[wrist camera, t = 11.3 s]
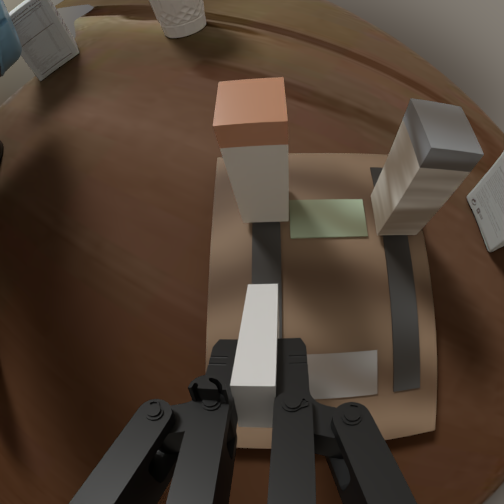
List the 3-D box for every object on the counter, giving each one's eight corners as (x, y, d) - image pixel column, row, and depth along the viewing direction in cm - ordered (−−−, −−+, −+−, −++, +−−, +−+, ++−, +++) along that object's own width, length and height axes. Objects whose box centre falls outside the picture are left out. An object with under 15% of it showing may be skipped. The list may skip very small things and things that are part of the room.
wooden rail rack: (426, 426, 17) (528, 463, 6) (210, 439, 19) (135, 508, 7) (399, 165, 24) (443, 62, 13) (220, 167, 26) (183, 56, 15)
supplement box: (76, 41, 43) (45, -15, 27) (80, 53, 40) (44, -11, 24) (39, 67, 42) (4, 15, 26) (39, 83, 39) (-2, 24, 23)
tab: (288, 221, 21) (287, 121, 12) (243, 222, 22) (212, 126, 12) (286, 182, 22) (283, 77, 13) (244, 184, 23) (218, 82, 13)
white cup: (220, 23, 36) (208, -30, 26) (176, 45, 35) (157, -10, 25) (193, 14, 38) (180, -32, 29) (153, 34, 37) (135, -13, 28)
